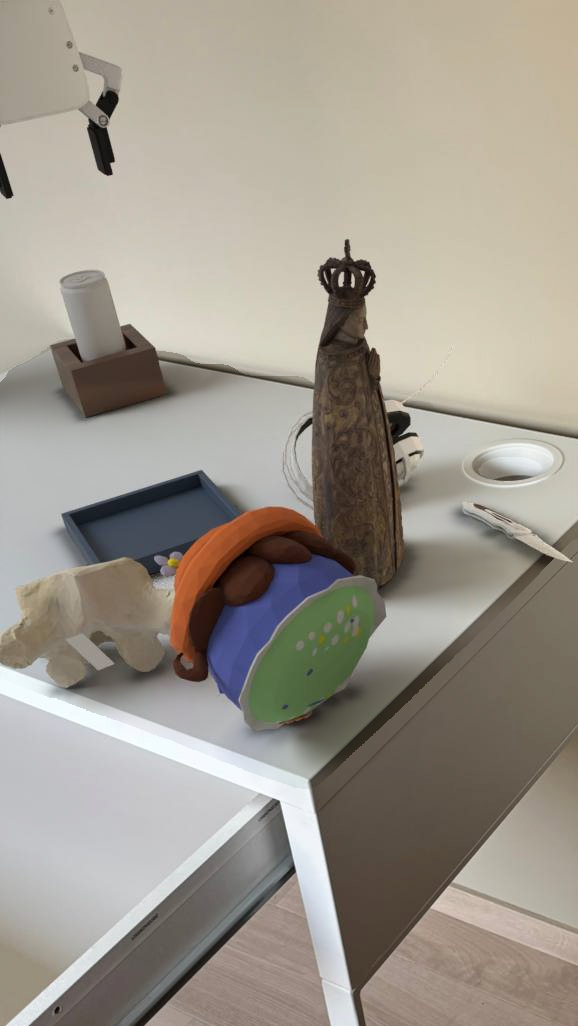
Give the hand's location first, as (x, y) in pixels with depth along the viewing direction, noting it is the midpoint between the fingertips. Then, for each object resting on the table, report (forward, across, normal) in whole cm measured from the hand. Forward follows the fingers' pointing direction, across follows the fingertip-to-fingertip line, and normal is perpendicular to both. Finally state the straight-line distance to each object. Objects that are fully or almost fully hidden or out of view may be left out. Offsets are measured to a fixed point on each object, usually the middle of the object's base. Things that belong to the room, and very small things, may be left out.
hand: (57, 184), depth 114 cm
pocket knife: (+20, -18, +52) cm, 59 cm away
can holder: (+21, 0, -1) cm, 21 cm away
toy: (+16, +3, +68) cm, 70 cm away
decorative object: (+13, +16, +46) cm, 51 cm away
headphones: (+21, -15, +36) cm, 45 cm away
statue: (+21, -7, +50) cm, 54 cm away
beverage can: (+21, 0, -1) cm, 21 cm away
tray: (+21, +6, +33) cm, 39 cm away
